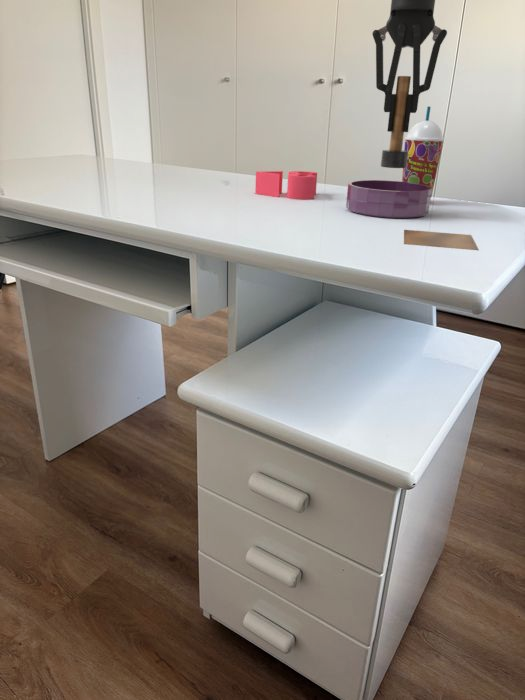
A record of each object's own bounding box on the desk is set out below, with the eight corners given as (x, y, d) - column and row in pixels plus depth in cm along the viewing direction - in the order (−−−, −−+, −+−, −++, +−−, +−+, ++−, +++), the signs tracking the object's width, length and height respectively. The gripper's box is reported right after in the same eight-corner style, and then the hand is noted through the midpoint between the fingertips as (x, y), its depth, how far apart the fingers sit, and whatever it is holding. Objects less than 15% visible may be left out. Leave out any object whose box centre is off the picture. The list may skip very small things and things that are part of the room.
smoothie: (402, 204, 119) (415, 106, 111) (392, 198, 127) (404, 105, 118) (439, 205, 120) (455, 107, 111) (427, 199, 127) (441, 107, 119)
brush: (406, 166, 108) (417, 77, 101) (406, 168, 103) (418, 75, 97) (381, 165, 109) (390, 77, 102) (380, 167, 104) (390, 75, 98)
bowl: (426, 209, 114) (430, 183, 112) (429, 224, 100) (433, 193, 97) (349, 204, 117) (352, 178, 115) (342, 217, 103) (344, 188, 101)
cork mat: (470, 237, 90) (471, 234, 90) (478, 253, 80) (479, 250, 80) (403, 232, 92) (404, 229, 92) (403, 247, 83) (403, 243, 82)
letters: (251, 196, 123) (252, 173, 121) (259, 190, 132) (259, 169, 130) (313, 200, 121) (314, 176, 119) (316, 193, 130) (317, 172, 128)
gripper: (368, -17, 92) (355, 130, 102) (463, -19, 89) (440, 133, 98) (371, -8, 99) (358, 129, 108) (459, -10, 95) (438, 132, 105)
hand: (397, 131), depth 103 cm, fingers closed on brush, 2 cm apart
